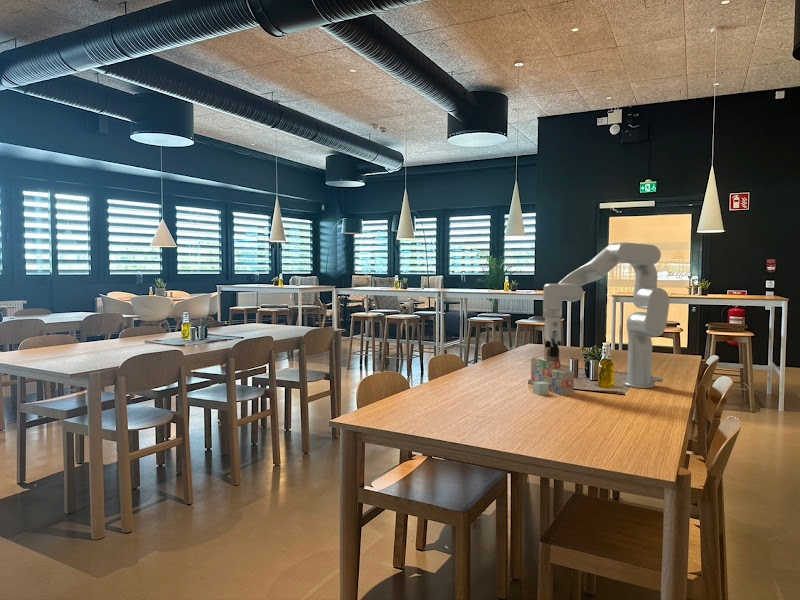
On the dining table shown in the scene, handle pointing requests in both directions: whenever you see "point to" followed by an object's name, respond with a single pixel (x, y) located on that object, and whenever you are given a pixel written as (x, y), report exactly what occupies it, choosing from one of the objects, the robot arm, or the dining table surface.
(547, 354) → the walnut cube
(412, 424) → the dining table surface
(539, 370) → the stack of blocks
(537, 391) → the sage block
